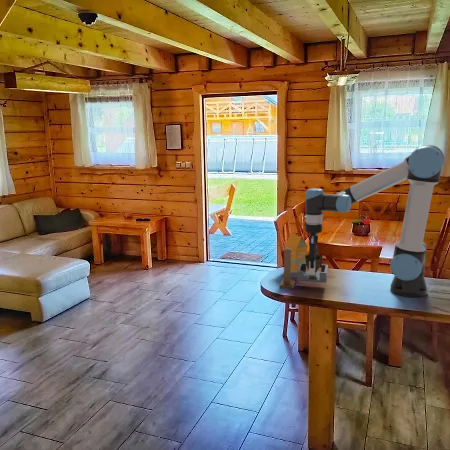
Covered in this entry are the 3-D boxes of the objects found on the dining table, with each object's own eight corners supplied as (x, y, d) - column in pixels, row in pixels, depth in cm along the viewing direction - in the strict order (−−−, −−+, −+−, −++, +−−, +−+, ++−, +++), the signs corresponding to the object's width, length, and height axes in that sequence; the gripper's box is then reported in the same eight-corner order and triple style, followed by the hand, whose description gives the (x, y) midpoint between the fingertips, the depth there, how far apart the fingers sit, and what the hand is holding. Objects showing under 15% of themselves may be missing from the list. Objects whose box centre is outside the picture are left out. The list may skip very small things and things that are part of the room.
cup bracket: (327, 283, 210) (328, 247, 206) (325, 293, 198) (327, 254, 194) (283, 280, 216) (283, 244, 212) (279, 289, 203) (279, 251, 200)
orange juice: (295, 276, 222) (296, 237, 217) (284, 272, 229) (284, 234, 225) (307, 273, 226) (308, 235, 222) (295, 269, 233) (296, 232, 229)
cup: (322, 275, 202) (322, 259, 199) (306, 275, 202) (306, 259, 199) (319, 268, 209) (319, 252, 206) (303, 269, 209) (304, 253, 207)
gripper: (307, 218, 210) (306, 264, 215) (302, 227, 191) (302, 278, 195) (323, 219, 208) (322, 265, 213) (320, 228, 189) (319, 279, 193)
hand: (312, 271), depth 204 cm, fingers open, 8 cm apart
